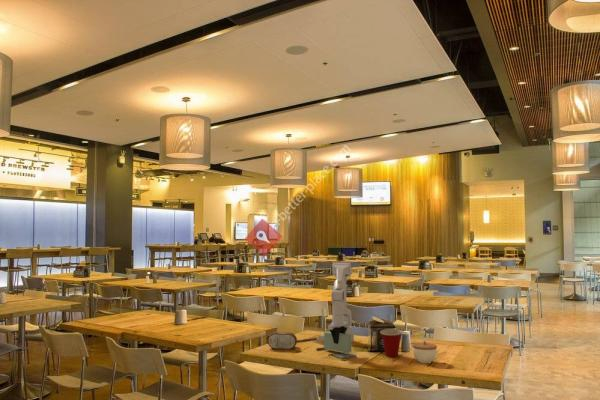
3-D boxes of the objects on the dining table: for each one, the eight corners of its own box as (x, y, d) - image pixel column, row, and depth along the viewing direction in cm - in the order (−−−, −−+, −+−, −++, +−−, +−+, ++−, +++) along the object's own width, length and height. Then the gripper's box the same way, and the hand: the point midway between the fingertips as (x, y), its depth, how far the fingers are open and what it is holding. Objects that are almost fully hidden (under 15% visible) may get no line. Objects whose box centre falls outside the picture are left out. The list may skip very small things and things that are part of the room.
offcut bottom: (323, 341, 277) (323, 337, 277) (337, 345, 267) (337, 341, 267) (316, 342, 275) (316, 338, 275) (329, 346, 265) (329, 342, 265)
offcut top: (324, 337, 276) (324, 334, 276) (336, 340, 268) (336, 336, 268) (318, 338, 273) (318, 334, 274) (331, 341, 266) (331, 337, 266)
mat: (335, 350, 260) (335, 348, 260) (356, 356, 245) (356, 355, 245) (320, 352, 255) (320, 350, 255) (341, 359, 240) (341, 357, 241)
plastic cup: (375, 356, 247) (375, 330, 248) (388, 352, 255) (387, 328, 256) (394, 359, 240) (394, 333, 241) (407, 355, 248) (406, 330, 249)
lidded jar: (411, 359, 241) (410, 338, 242) (434, 359, 241) (433, 339, 242) (415, 364, 231) (415, 343, 231) (439, 365, 230) (439, 343, 231)
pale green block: (327, 347, 256) (327, 331, 257) (351, 351, 247) (351, 334, 248) (324, 348, 254) (324, 332, 254) (347, 352, 245) (347, 335, 245)
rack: (320, 340, 282) (320, 337, 283) (345, 348, 264) (345, 344, 264) (292, 344, 273) (292, 340, 273) (317, 352, 254) (317, 348, 254)
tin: (297, 348, 263) (297, 332, 263) (296, 350, 259) (296, 333, 260) (268, 348, 264) (268, 331, 265) (267, 349, 261) (267, 332, 262)
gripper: (339, 312, 260) (339, 339, 259) (322, 315, 248) (322, 343, 247) (351, 313, 255) (351, 341, 254) (334, 316, 244) (334, 345, 243)
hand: (338, 342), depth 250 cm, fingers closed on pale green block, 3 cm apart
